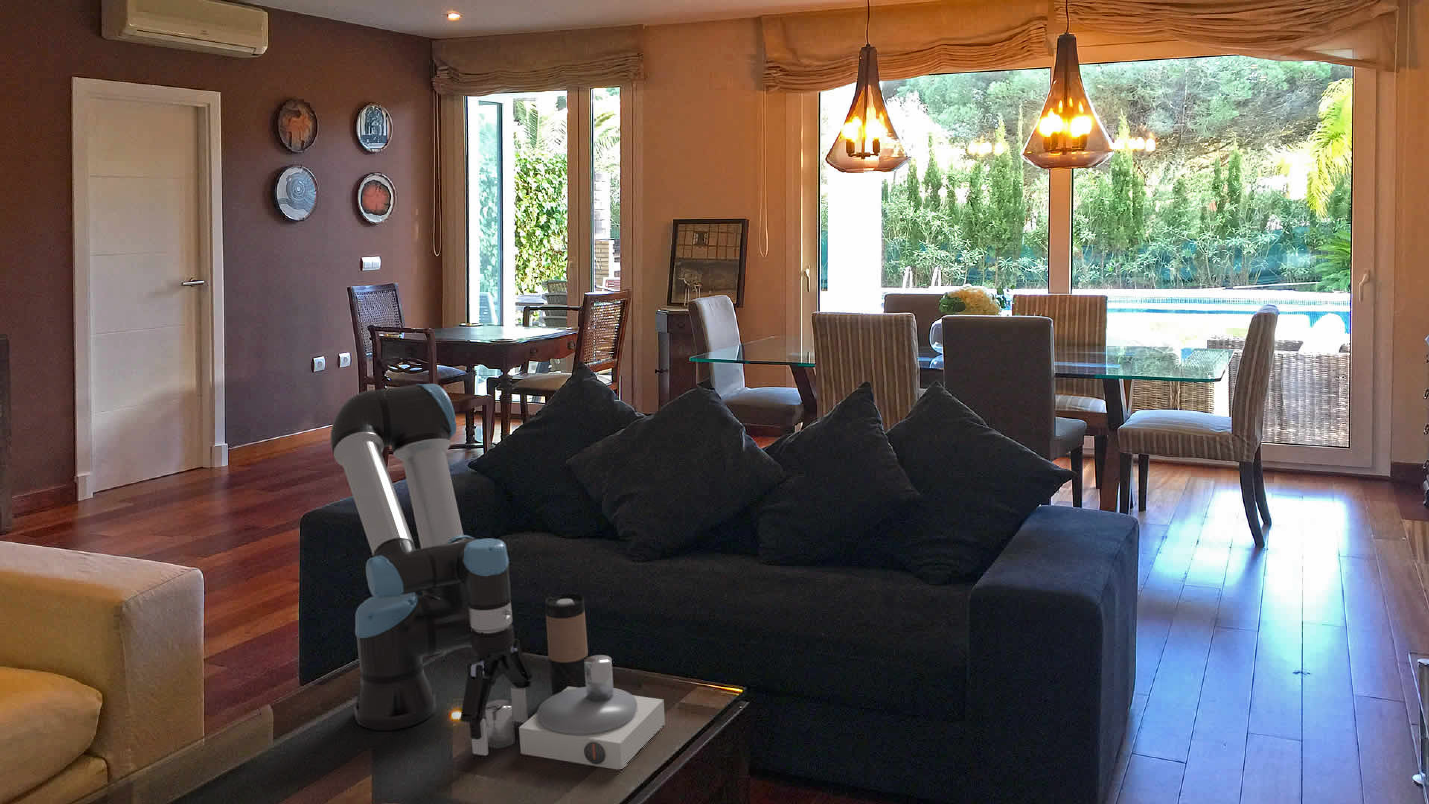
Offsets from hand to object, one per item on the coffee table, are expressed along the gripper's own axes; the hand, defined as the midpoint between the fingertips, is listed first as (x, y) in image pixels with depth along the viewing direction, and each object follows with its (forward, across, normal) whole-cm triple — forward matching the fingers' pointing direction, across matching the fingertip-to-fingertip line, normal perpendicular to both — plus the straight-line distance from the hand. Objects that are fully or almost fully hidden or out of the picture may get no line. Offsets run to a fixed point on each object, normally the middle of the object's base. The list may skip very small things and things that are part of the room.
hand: (501, 737), depth 220 cm
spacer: (+1, 0, 0) cm, 1 cm away
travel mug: (+1, +21, -3) cm, 21 cm away
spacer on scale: (-5, +11, -15) cm, 19 cm away
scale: (+1, +6, -16) cm, 17 cm away
